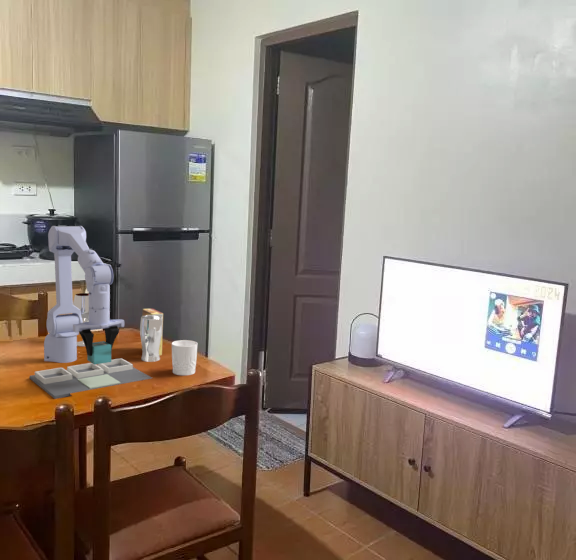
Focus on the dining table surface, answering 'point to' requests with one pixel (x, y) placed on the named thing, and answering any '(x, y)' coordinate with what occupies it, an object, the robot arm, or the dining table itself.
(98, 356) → the teal letter cube
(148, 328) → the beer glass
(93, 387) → the organizer board
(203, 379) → the dining table surface
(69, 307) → the robot arm
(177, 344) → the white cup
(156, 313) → the candy box
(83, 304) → the wineglass
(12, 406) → the dining table surface
